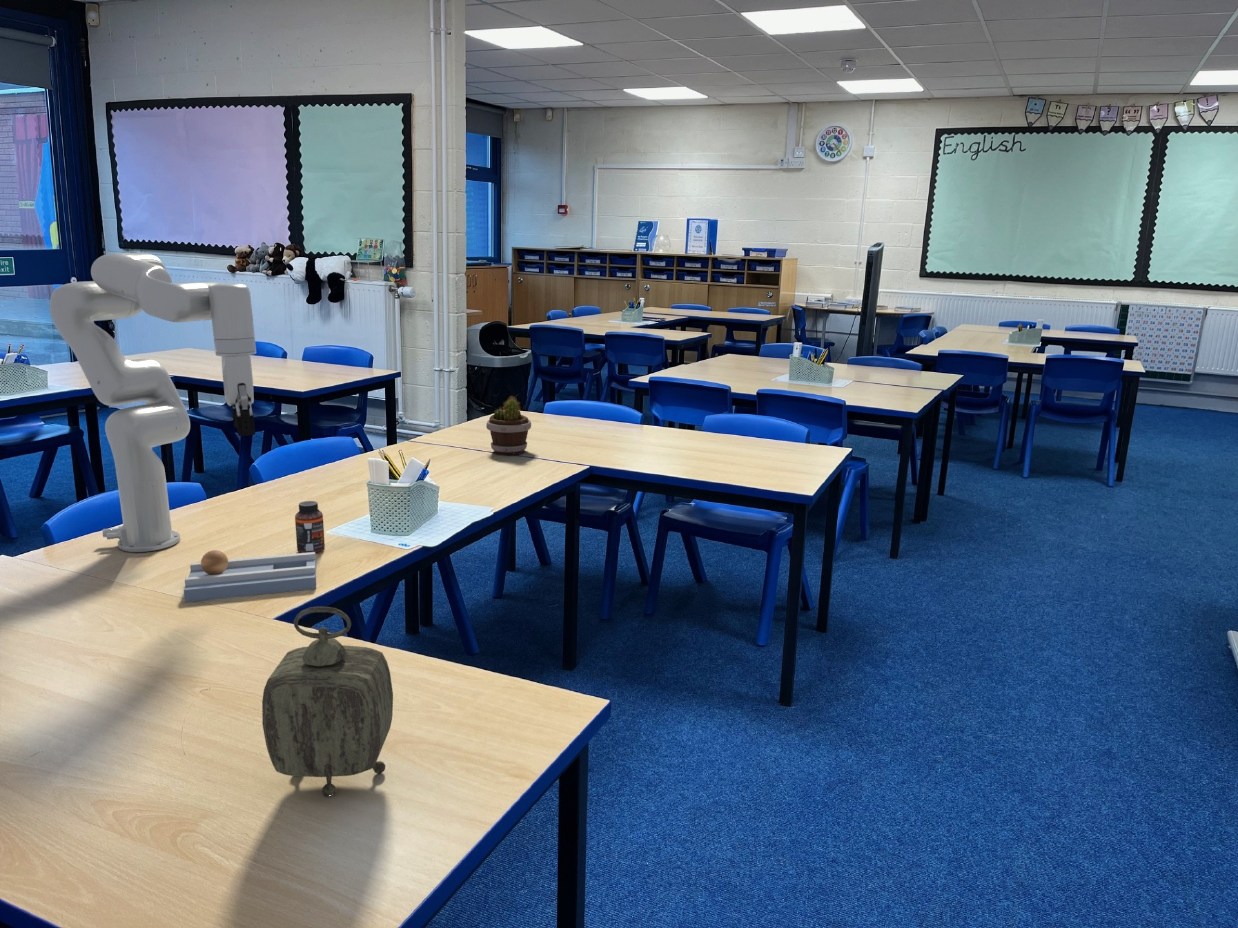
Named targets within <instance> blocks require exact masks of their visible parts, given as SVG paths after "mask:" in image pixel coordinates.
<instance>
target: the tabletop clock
mask: <svg viewBox="0 0 1238 928" xmlns="http://www.w3.org/2000/svg"><path fill="white" fill-rule="evenodd" d="M312 613H313V614H314V613H330V614H335V615H338V616H340V617H341V618H343V619H344V620H345V622H346V627H345V628H344V629H342V630H340V631H337V632H336V631H335V632H328V628H327V627H325V626H322V627H320V628H318V632H312V631H306V630H304V629H302V628H300V626H299V624H298V623H299V620H300V619H301V618H302V617H303V616H306V615H308V614H312ZM351 626H352V621H351V619H350V617H349V615H347V613H345V612H344V611H342V610H340V609H338V608H336V607H331V606H313V607H312V606H311V607H308V608H305V609H303V610H301V611H299V612H298V613H297V614H296V615H295V617H294V619H293V627H294V628H295V630H296V631H297V632H298V633H299V634H301V636H303V637H304V636H305V637H308V638H310V639H315V640H312V641H311V643H310V644H308V646H301V647H298V648H295V649H292V650H289V651H288V652H286V654H285V655H284V657H283V658H282V659H281V661H280V662H279V664H278V665H277V666H276V667H275V669H274V670H273V672H272V673H271V674H270V676H269V677H268V679H267V681H266V684H265V686H264V688H263V694H262V705H261V706H262V708H261V709H262V711H261V712H262V716H261V717H262V720H261V721H262V729H263V730H262V731H263V735H264V740H265V746H266V749H267V752H268V756H269V758H270V761H271V764H272V766H273V768H274V770H275V771H276V772H277V773H278V774H282V775H285V776H288V777H289V776H290V777H291V776H292V777H307V778H309V777H310V778H325V779H326V784H324V786H323V787H322V789H321V791H322V794H323V795H324V796H325V795H326V796H325V797H327V796H329V795H332V794H333V795H334V794H335V793H336V786H335V785H334V784H333V783H332V780H333V779H332V778H333V777H347V776H348V777H349V776H355V775H358V774H361V773H364V772H366V771H367V772H368V771H369V770H373V772H374V773H375V774H378V775H379V774H383V772H385V770H386V764H385V763H384V761H381V760H378V759H379V757H380V754H381V752H382V749H383V746H384V744H385V742H386V740H387V737H388V734H389V731H390V729H391V726H392V721H393V713H394V712H393V707H394V705H393V704H394V691H393V685H392V677H391V676H392V675H391V671H390V668H389V664H388V661H387V658H386V657H385V654H383V651H380V650H377V649H375V648H371V647H367V646H359V645H358V646H357V645H343V644H342V643H341V642H340V641H339V640H337V639H336V638H339V637H343V636H344V635H345V634H346V633H348V632H349V631H350V629H351ZM334 792H335V793H334ZM333 795H332V796H333Z"/></svg>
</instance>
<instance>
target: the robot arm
mask: <svg viewBox="0 0 1238 928" xmlns="http://www.w3.org/2000/svg"><path fill="white" fill-rule="evenodd" d="M90 275H91V278H92V280H90V281H88V280H87V281H76V282H75V281H74V282H70V283H69V282H68V283H65V284H62V285H59V286H58V287H56V288H55V289H53V291H52V293H51V295H50V299H49V313H50V315H51V320H52V322H53V324H54V327H55V329H56V330H57V331H58V333H59V335H60V336H61V337H62V339H63V340H64V341H65V342H66V344H67V345H68V346H69V348H70V349H71V350H72V352H73V355H74V356H75V358H76V359H77V362H78V363H79V365H80V367H81V370H82V372H83V374H84V376H85V379H87V382H88V384H89V386H90V388H91V390H92V392H93V394H94V396H95V397H96V398H97V400H98V401H99V402H100V403H102V404H103V405H105V406H110V407H111V406H112V407H113V406H114V407H115V406H121V405H122V406H123V405H128V404H129V405H130V404H135V403H141V402H144V403H145V404H141V405H135V406H128V407H124V408H121V409H119V410H115V411H114V412H112V413H111V414H110V415H109V416H108V417H107V419H106V421H105V425H104V431H105V434H106V437H107V442H108V444H109V446H110V449H111V453H112V457H113V460H114V466H115V474H116V481H117V488H118V495H119V504H120V511H121V517H122V526H118V527H117V528H111V527H109V528H103V529H102V537H103V538H106V539H107V540H114V539H118V541H117V548H118V549H119V550H122V551H124V552H129V553H131V552H132V553H145V552H154V551H158V550H159V551H160V550H163V549H166V548H170V547H172V546H174V545H177V544H178V543H179V542H180V541H181V535H180V533H179V532H178V531H175V530H173V529H172V520H171V513H170V505H169V503H170V502H169V495H168V487H167V486H168V485H167V479H166V478H167V477H166V472H165V471H166V470H165V466H164V464H163V461H162V460H161V458H160V457H159V456H158V455H157V454H156V453H155V451H154V450H153V448H155V447H158V446H162V445H166V444H172V443H175V442H180V441H181V440H183V439H185V438H186V437H187V436H188V435H189V433H190V430H191V420H190V417H189V413H188V411H187V409H186V407H185V405H184V402H183V400H182V399H181V396H180V394H179V393H178V392H179V391H178V389H177V388H176V385H175V384H174V382H173V381H172V379H171V376H170V375H169V372H168V371H167V369H166V368H165V367H164V366H163V365H162V364H161V363H160V362H158V361H156V360H154V359H150V358H137V359H136V358H135V359H127V358H126V357H125V356H124V354H123V353H122V351H121V349H120V347H119V344H118V343H117V341H116V340H115V339H114V338H113V336H111V335H110V334H109V333H108V332H107V331H106V330H104V329H102V327H100V326H98V325H97V324H96V323H95V322H97V321H109V320H122V319H123V320H124V319H130V318H132V317H135V316H138V315H139V314H140V313H141V312H144V313H145V314H147V315H149V316H152V317H154V318H157V319H160V320H163V321H166V322H171V323H187V322H188V323H189V322H199V321H211V327H212V332H213V333H212V334H213V344H214V352H215V353H214V354H215V356H217V357H221V371H222V372H221V374H222V383H223V391H224V400H225V402H226V404H227V405H228V406H229V407H231V406H232V407H231V412H232V420H233V421H232V423H233V427H234V428H236V429H237V436H238V437H244V436H245V437H246V436H254V435H256V427H255V418H254V417H255V416H254V414H253V409H252V404H254V402H255V398H254V379H253V378H254V377H253V369H252V358H251V356H253V355H256V354H257V346H256V337H255V335H256V334H255V326H254V319H253V318H254V317H253V308H252V298H251V291H250V289H249V287H248V286H247V285H245V284H242V283H222V282H217V281H215V282H214V281H205V282H204V281H203V282H202V281H200V282H199V281H197V282H193V281H192V282H181V283H180V282H177V283H176V282H175V283H173V280H172V277H171V274H170V273H169V272H168V270H167V268H166V266H165V264H164V262H163V261H162V260H161V259H160V258H158V256H155V255H153V254H151V253H146V252H125V253H124V252H122V253H121V252H118V253H117V252H115V253H107V254H104V255H103V254H102V255H101V256H99V257H98V258H96V259H95V260H94V261H93V263H92V264H91V268H90Z"/></svg>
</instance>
